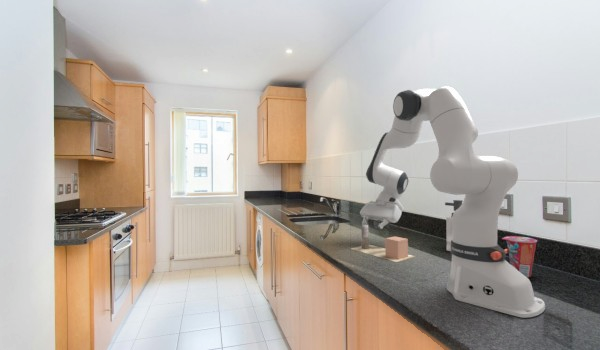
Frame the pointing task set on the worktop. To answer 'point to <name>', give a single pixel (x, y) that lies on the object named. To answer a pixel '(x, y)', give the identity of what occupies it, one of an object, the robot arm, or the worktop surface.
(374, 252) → the birch strip
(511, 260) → the cup
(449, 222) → the soap dispenser
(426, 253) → the worktop surface
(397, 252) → the terracotta block
